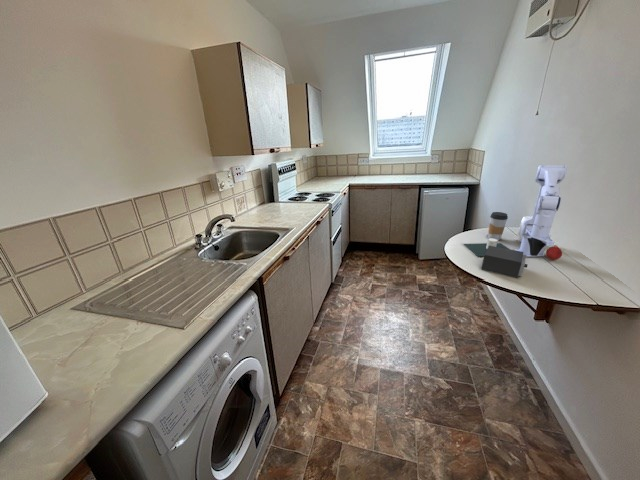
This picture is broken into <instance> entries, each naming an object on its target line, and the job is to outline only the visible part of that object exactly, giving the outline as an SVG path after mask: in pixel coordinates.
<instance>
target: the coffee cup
mask: <svg viewBox="0 0 640 480" xmlns="http://www.w3.org/2000/svg"><path fill="white" fill-rule="evenodd" d="M489 217H490V218H489V223H488V230H487V232H488V234H487V239H489V238H493V239H496V240H498V241H500V240H501V239H502V235H503V234H504V230H505V227H506V223H507V221H508V218H509V216H508V213H506V212H502V211H493V212H491V213H490V216H489Z"/></svg>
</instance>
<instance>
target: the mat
mask: <svg viewBox="0 0 640 480" xmlns="http://www.w3.org/2000/svg"><path fill="white" fill-rule="evenodd" d="M463 246H465V247H466V248H467V249H468V250H470V251H471V252H472V253H473V254H474V255H475V256H477V257H478V258H484V255H485V253H486V251H487V248H486V246H487V242H486V243H485V242H484V243H463ZM496 247H500V248H505V249H510V248H509V247H507V246H506V245H504V244H502V243H501V242H497V246H496Z"/></svg>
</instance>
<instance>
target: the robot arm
mask: <svg viewBox="0 0 640 480" xmlns="http://www.w3.org/2000/svg"><path fill="white" fill-rule="evenodd" d="M567 171H568V166H567V164H564V165H559V164H557V165H556V164H554V165H553V164H540V165H538V167H537V170H536V175H535V178H534V181H535V183H537V184H539V190H538V192H537V197H536V201H535V204H534V207H533V212H532V217H531V218H529V219H526V220H525V221H524V223H523V226H522V229H521V235H523V239H522V242H520V247H519V248H517V249H516V248H515V249H514V250H516V251H521V252H523V254H524V255H526V258H527V257H528V258H530V257H531V258H532V257H534V258H535V257H545V254H544V253H545V251H546V247H554V244H555V241H554V240H553V239H552V235H551V229H552V226H553V223H554V219H555V216H556V213H557V212H558V211H559V209H560V207H561V203H562V196H561V195H560V186H559V185H558V184H560V183H562V181H563V180H564V179H565V177H566V175H567Z"/></svg>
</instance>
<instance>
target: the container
mask: <svg viewBox="0 0 640 480" xmlns="http://www.w3.org/2000/svg"><path fill="white" fill-rule="evenodd" d="M498 241H499V240H496V239H493V238H487V241H486V243H487V246H486V248H487V249H488V247H489V246H494V247H496V246H497V243H499V242H498Z"/></svg>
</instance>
